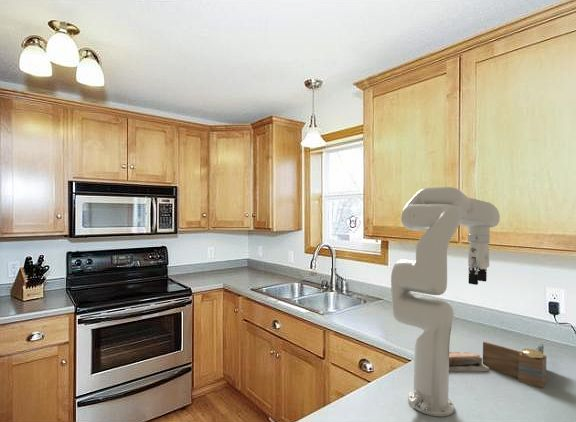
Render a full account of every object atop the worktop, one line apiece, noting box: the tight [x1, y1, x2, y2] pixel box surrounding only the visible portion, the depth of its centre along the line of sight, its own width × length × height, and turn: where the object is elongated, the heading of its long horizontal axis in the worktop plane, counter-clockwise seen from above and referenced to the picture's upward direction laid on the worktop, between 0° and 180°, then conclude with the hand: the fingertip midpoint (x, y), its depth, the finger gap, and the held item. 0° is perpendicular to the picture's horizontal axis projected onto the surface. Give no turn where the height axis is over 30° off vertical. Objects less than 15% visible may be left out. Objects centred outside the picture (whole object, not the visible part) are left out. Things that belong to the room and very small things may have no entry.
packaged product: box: [449, 351, 490, 372], centre depth 127 cm, size 18×5×10 cm
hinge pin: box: [521, 348, 544, 359], centre depth 115 cm, size 6×6×10 cm
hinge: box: [482, 341, 548, 389], centre depth 124 cm, size 19×19×9 cm
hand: (477, 282), depth 132 cm, fingers open, 9 cm apart
